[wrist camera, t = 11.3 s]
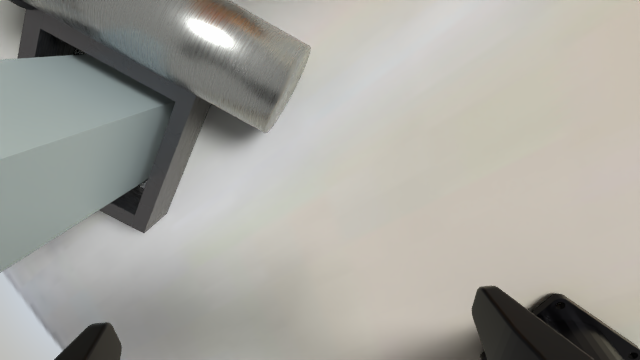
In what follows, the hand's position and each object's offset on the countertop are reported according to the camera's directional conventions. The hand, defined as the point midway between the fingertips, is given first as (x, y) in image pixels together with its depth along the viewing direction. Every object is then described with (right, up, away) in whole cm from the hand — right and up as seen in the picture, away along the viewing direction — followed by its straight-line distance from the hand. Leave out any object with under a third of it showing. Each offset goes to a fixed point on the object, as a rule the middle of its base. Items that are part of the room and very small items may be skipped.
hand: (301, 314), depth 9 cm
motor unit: (-8, +8, +11) cm, 16 cm away
